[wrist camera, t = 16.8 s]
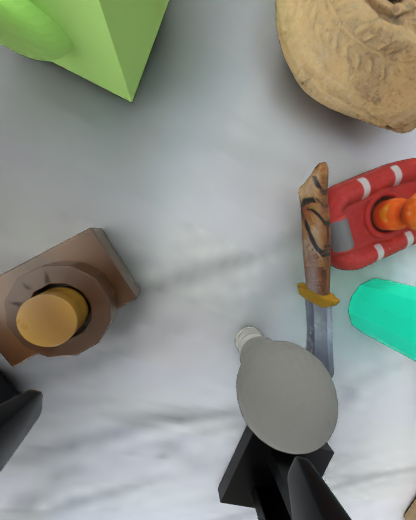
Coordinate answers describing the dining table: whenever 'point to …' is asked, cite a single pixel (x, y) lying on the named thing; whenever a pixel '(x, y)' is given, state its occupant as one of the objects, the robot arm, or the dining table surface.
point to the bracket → (264, 476)
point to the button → (52, 316)
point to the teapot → (86, 37)
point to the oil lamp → (354, 56)
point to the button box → (71, 276)
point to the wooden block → (411, 512)
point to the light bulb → (284, 393)
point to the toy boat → (373, 215)
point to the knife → (317, 265)
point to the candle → (386, 314)
